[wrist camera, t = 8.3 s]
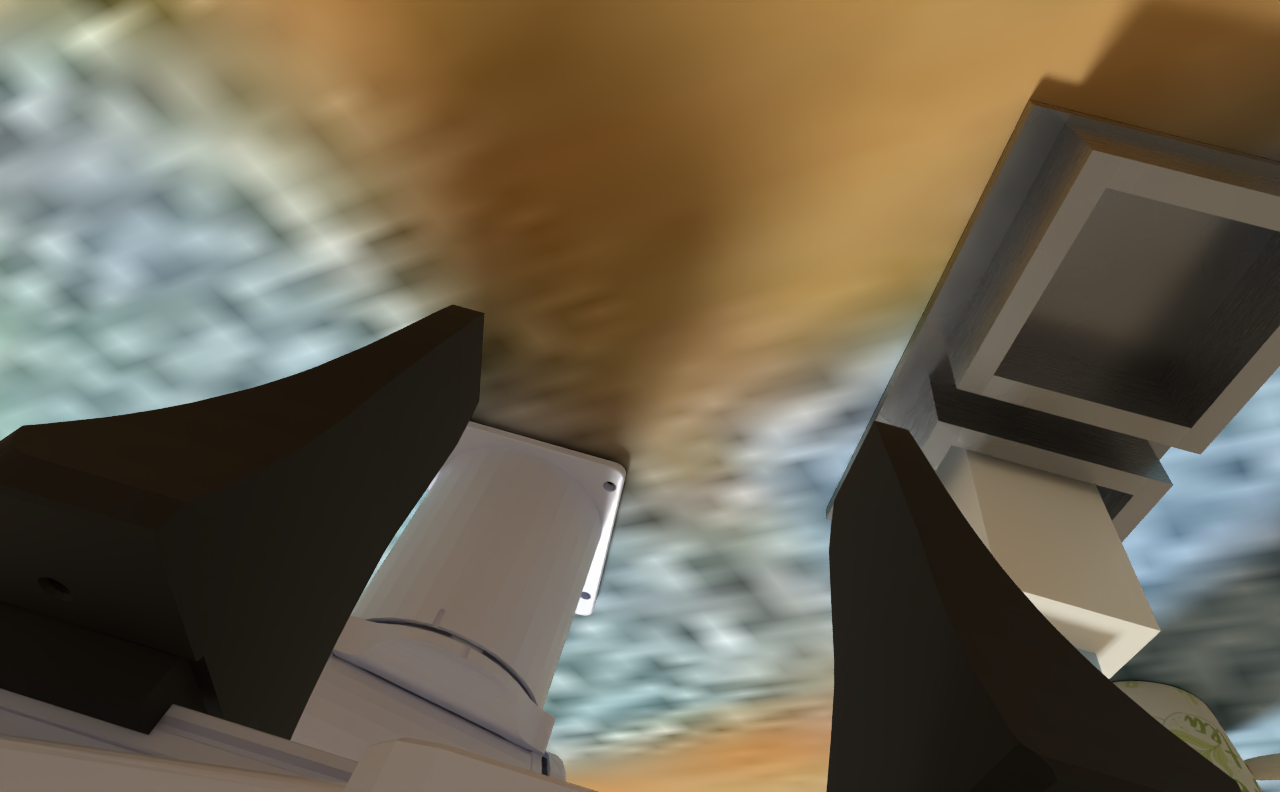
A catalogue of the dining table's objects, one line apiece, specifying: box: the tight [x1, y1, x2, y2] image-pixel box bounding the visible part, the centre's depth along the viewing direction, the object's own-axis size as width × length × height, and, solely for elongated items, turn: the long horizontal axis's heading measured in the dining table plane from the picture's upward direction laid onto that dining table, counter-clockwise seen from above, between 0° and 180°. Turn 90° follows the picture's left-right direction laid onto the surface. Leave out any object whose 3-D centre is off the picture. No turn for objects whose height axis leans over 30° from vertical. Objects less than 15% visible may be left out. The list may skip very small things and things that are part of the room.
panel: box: [826, 100, 1280, 543], centre depth 22 cm, size 15×9×3 cm, turn 169°
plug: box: [935, 445, 1161, 679], centre depth 21 cm, size 4×4×8 cm
